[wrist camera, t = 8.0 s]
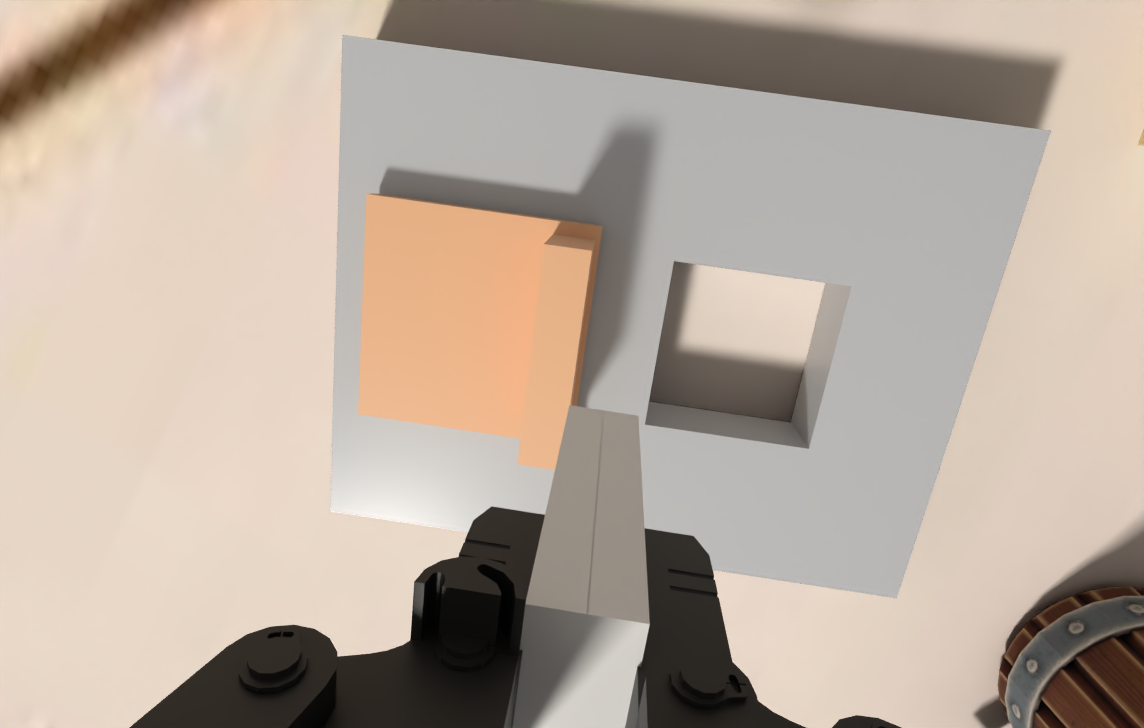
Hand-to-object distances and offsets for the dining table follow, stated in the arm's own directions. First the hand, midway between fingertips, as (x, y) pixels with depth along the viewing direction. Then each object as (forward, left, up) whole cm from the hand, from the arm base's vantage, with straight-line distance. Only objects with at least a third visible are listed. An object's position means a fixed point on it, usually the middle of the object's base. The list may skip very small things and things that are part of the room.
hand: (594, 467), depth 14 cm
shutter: (0, -5, -13) cm, 14 cm away
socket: (0, +2, -16) cm, 16 cm away
